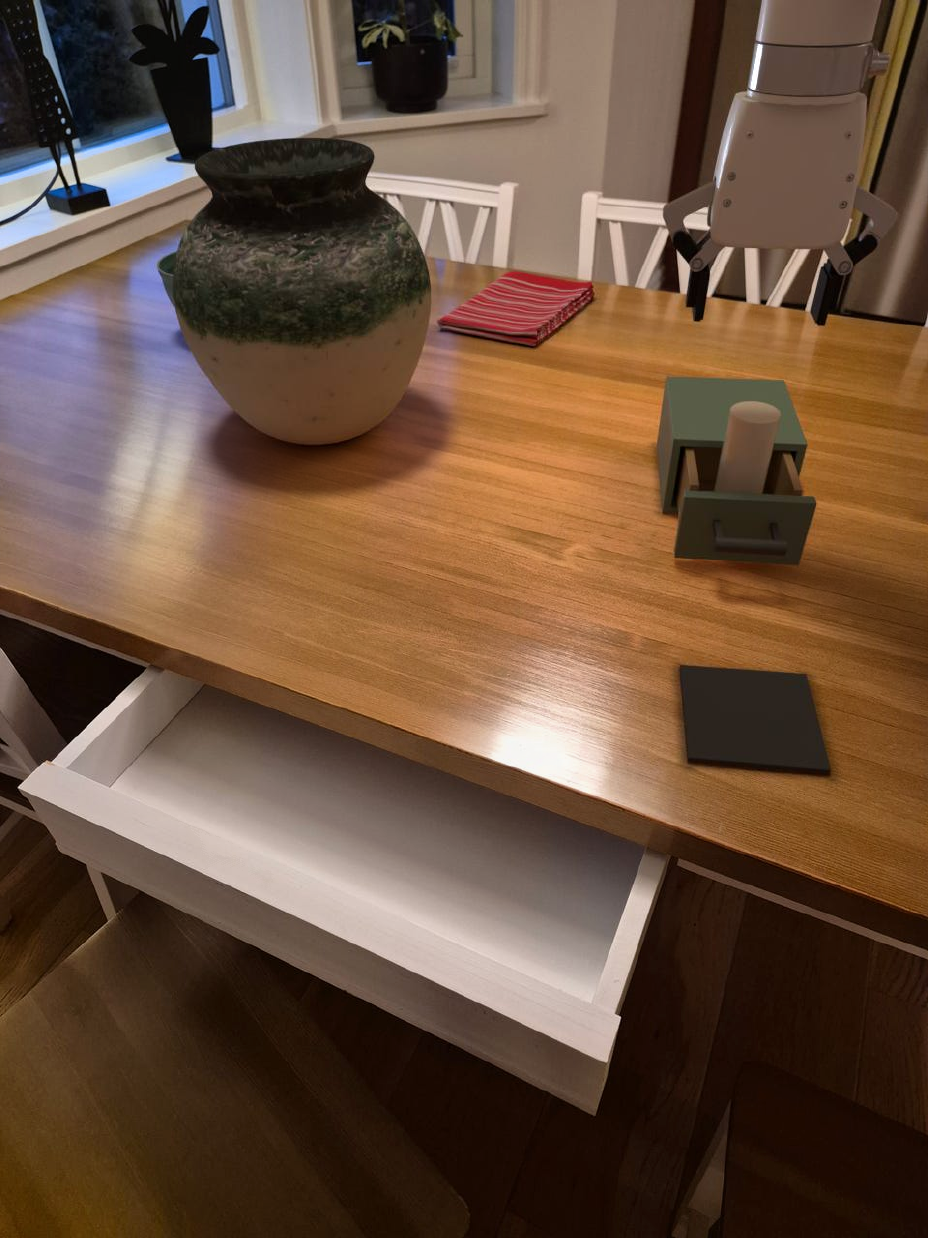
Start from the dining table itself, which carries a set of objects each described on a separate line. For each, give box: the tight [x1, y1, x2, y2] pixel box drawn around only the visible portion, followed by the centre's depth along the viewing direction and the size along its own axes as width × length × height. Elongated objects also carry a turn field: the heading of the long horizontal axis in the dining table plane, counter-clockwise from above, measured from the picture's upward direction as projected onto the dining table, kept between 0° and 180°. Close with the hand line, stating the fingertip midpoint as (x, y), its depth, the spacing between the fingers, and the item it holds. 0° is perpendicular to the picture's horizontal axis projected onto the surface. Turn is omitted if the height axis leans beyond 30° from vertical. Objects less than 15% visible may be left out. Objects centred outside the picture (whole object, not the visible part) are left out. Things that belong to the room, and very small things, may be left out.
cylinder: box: [714, 401, 781, 494], centre depth 78 cm, size 4×4×12 cm
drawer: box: [673, 446, 818, 566], centre depth 80 cm, size 18×11×7 cm, turn 172°
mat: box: [678, 664, 832, 776], centre depth 64 cm, size 10×10×1 cm
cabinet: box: [656, 375, 809, 515], centre depth 89 cm, size 15×13×9 cm
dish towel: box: [436, 270, 596, 347], centre depth 131 cm, size 17×24×3 cm
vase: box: [173, 137, 432, 446], centre depth 94 cm, size 28×28×30 cm
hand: (756, 317), depth 69 cm, fingers open, 9 cm apart
